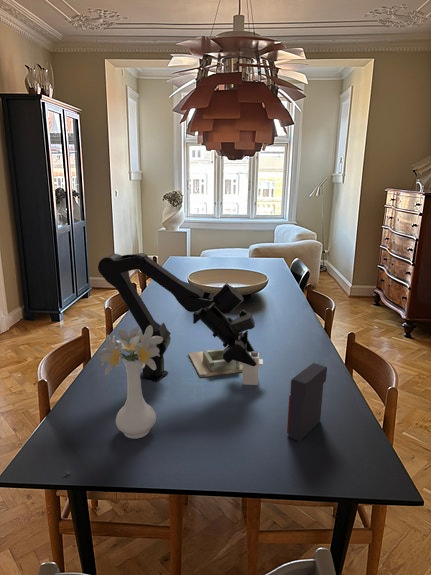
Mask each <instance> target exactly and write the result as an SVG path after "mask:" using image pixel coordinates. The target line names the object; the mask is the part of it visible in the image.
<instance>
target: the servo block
mask: <svg viewBox="0 0 431 575" xmlns="http://www.w3.org/2000/svg"><path fill="white" fill-rule="evenodd" d="M248 353H249V354H250V355H251V357H252V358H253V359H254V361H255V362H256V366H251V365H248V364H245V363H242V362H239V364H242V365H243V371H242V372H241V373H242V378H241V381H242V382H241V384H242V385H250V386H258V385H259V366H261V367H263V366H264V359H262V358H260V352H258V351H257V350H254V351H252V352H248Z"/></svg>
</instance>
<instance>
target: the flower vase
mask: <svg viewBox="0 0 431 575" xmlns="http://www.w3.org/2000/svg"><path fill="white" fill-rule="evenodd" d="M139 331H140V327H139V326H136V327H134V328H132V329H131V330H130V332H129V333H128V332H127V330H125V329H123V328H119V329H118V330H117V336H118V338H119V339H116V335H113V337H112V338H111V336H110V334H107V335H106V336H105V346H106V347H104V348H102V349H100V350H99V352H98V353H97V357H99V361H100V362H101V364H100V366H101V367H103V366H104V365H105V364H106V363H107V364H106V367H105V369H104V375H105V376H107V375H109V373H110V372H111V371H112V370H113V368H114V367H115V368H119V367H120V365H121V360H122V362H123V364H124V366H125V370H126V380H127V381H126V383H127V384H126V385H127V390H126V391H127V393H126V395H127V396H126V401H125V403H124V405H123V406H122V407H120V409H119V411H118V412H117V414H116V416H115V424H116V428H118V430H119V431H120V432H122V434H123V435H124V437H126V438H129V439H134V440H137V439H140V438H141V439H142V438H144V437H146V436H147V435H148V434H149V433H150V430H151V429H152V428H153V427H154V425H155V423H156V420H157V414H156V412H155V409H153V407H152V406H151V405H150V404H149V403H147V402H146V400H145V398H144V396H143V391H142V380H141V379H142V378H141V377H140V374H141V370H142V369H143V368H144V367H145V363H146V364H147V365H148V366H149V367H150V368H151V369H153V370H156V364H155V362H154V361H153V359H151V358H150V357H154V356H156V355H157V356H160V355H159V348H157V346H156V344H160V343H161V342H162V341H163V338H162V337H160V336H153V337H151V336H152V334H153V327H152V326H151V325H149V326H148V327H147V328H146V331H145V334H144V335H143V334H142V331H140V332H139ZM150 337H151V338H150ZM121 351H124V352H127V354H125V353H123V352H121Z"/></svg>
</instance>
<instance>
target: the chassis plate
mask: <svg viewBox="0 0 431 575" xmlns="http://www.w3.org/2000/svg"><path fill="white" fill-rule="evenodd" d="M224 349H225V348H220V349H208V350H203V351H195V352H188V358H189V359H190V361H191V363H192V365H193V367H194V369H195V371H196V373H197V374H198V376H199V378H204V377H212V376H219V375H227V374H229V375H230V374H234V373H242V371H243V365H242V364H239V361H235V360H232V361H231V362H229V363H227V362H226V361H225V360H224V359H223V352H224Z"/></svg>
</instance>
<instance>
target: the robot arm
mask: <svg viewBox="0 0 431 575" xmlns="http://www.w3.org/2000/svg"><path fill="white" fill-rule="evenodd" d="M97 270H98V273H99V274H100V275H101V276H102V278H103V279H104V280H105V281H106V282H107V283H108V284H109V285H111V286H112V287H114V289H116V291H117V292H118V294H119V296H120V297H121V299H122V301H123V302H124V304H125V306H126V307H127V309H128V310H129V312H130V313H131V315H132V317H133V319H134V320H135V322H136V324H137V325H138V327H139V330H141V331H140V332H141V333H142V334H143V335H144V334H145V331H146V328H147V327H148V326H149V325H151V326H152V327H153V334H152V336H151V337H153V336H160V337H162V338H163V341H162V342H161V343H160V344H156V346H157V348H159V355H160V356H157V355H156V356H154V357H150V358H151V359H153V361H154V362H155V364H156V370H153V369H151V368H150V367H149V366H148V365H147V364H146V363H145V367H144V368H143V369H141V370H142V372H140V379H143V380H147V381H148V380H149V381H152V382H158V381H159V380H160V379H162V378H163V377H165V376H167V374H169V372H168V371H167V370H165V360H164V359H165V358H164V354H165V352H166V351H167V350H168V348H169V345H170V344H171V332H170V331H169V329H167V326H166V324H165V322H162V323H160V324H159V323H158V322H157V321H156V320H155V319H154V317H153V316H152V314H151V312H150V311H149V308H148V307H147V306H146V304H145V303H144V301H143V299H142V297H141V295H140V294H139V292H138V290H137V289H136V288H135V285H134V284H133V283H132V281H131V277H130V276H131V275H130V272H131V271H135V270H138V271H140V272H141V273H142V274H144V275H145V276H147V277H148V278H150V279H151V280H152V281H154V282H155V283H157V284H158V285H159V286H161V287H162V288H164V289H165V290H166V291H167V292H169V293H171V295H172V296H173V297H174V298H175V299H176V301H177V302H178V304H180V306H182V308H184V309H185V310H186V311H187V312H189V313H192V318H193V319H192V323H193V325H195V324H196V323H198V321H201V322H202V323H203V324H204V325H205V326H206V327H207V328H208V329H209V331H211V332H212V336H213V338H216V337H217V338H218V339H219V340H220V341H221V342H222V346H223V349H224V352H223V359H224V360H225V361H226V362H227V363H229V362H231V361H232V360H235V361H239V362H242V363H245V364H248V365H251V366H256V362H255V361H254V359H253V358H252V357H251V355H250V354H249V353H248V352H252V351H255V349H254V347H253V346H252V344H251V342H250V341H249V338H248V336H249V331H248V330H253V329H254V328H255V327H256V326H255V324H256V323H255V319H254V318H253V314H252V313H251V312H248V311H246V309H243V310H240V311H239V316H237V317H236V318H234V319H233V318H232V317H230V316H228V317H226V316H225V315H226V314H231V312H233V310H235V309H236V308H237V307H238V306H239V305H240V304H241V303H243V302H244V297H243V295H242V294H241V292H240V291H239V290H238V289H237V288H234V287H233V286H232V285H230V284H228V282H226V283H224V284H223V285H222V287H221V288H220V289H219V290H218V291H217V292H211V291H205V290H203V289H202V288H201V287H199V286H196V285H194V284H192V283H190V282H186V281H183V280H181V279H180V278H178V277H177V276H175V275H174V274H172V273H171V272H170V271H168V270H167V269H166V268H164V267H163V266H162V265H160V264H158V263H157V262H156V261H154V260H153V259H151V257H149V256H148V254H146V253H144V252H140V253H135V254H132V253H131V254H124V255H121V254H119V253H111V254H108V255H107V256H105V257H103V258H102V259H100V260H99V262H98V266H97ZM151 337H150V338H151Z"/></svg>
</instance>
